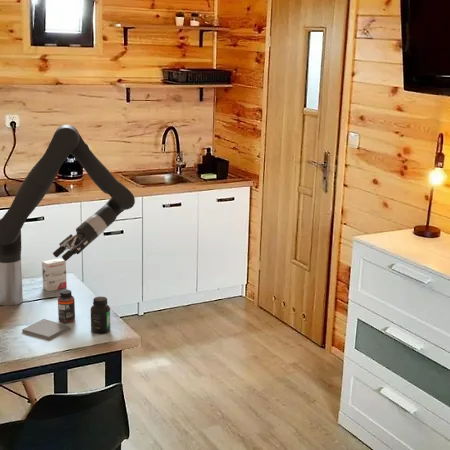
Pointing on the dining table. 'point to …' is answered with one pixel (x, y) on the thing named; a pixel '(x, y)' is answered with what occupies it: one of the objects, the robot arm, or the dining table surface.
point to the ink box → (54, 274)
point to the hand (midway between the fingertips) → (58, 257)
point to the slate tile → (46, 329)
